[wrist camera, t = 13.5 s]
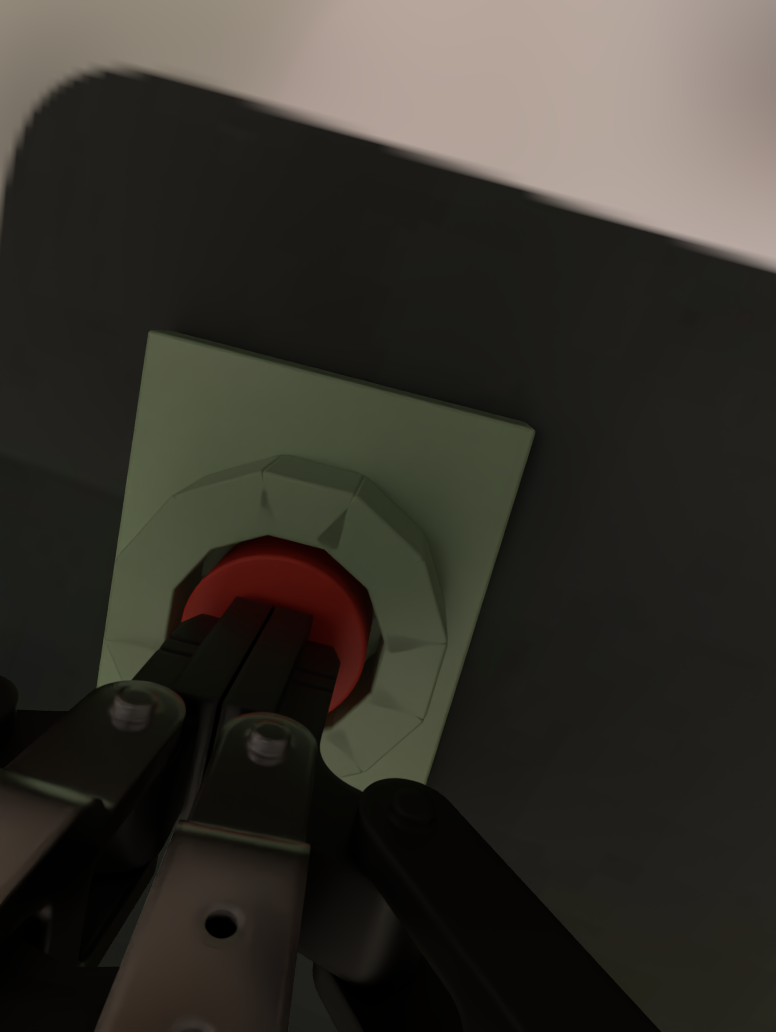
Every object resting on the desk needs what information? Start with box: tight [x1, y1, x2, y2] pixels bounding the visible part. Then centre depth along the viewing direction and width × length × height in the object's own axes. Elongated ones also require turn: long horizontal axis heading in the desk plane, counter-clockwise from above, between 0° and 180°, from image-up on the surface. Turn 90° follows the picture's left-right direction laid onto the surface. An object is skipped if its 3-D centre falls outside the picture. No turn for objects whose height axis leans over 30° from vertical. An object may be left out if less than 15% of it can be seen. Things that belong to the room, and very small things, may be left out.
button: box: [181, 535, 373, 713], centre depth 13 cm, size 4×4×2 cm
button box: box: [97, 330, 535, 792], centre depth 14 cm, size 10×8×3 cm
